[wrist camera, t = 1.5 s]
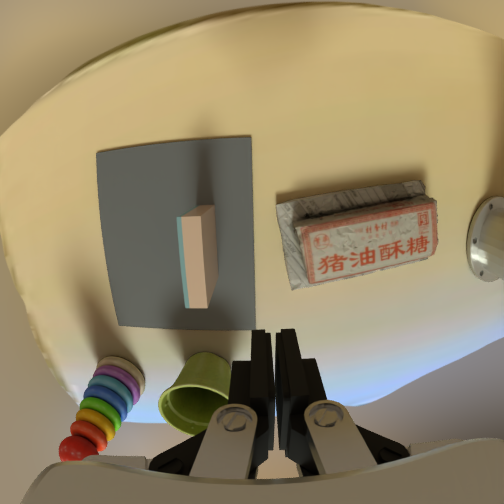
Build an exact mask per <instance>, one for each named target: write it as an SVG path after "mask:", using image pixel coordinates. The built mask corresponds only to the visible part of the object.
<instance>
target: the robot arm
mask: <svg viewBox="0 0 504 504" xmlns="http://www.w3.org/2000/svg"><path fill="white" fill-rule="evenodd" d="M467 258H468V262H469V266H470V268H471V271H472V272H473V273H474V275H475V276H476V277H478V278H479V279H481V280H483V281H485V282H492V281H495V280H497V279H499V278H501V279H502V280H504V197H499V196H494V197H491V198H489V199H487V200H486V201H484V202H483V203H482V204H481V206H480V207H479V208H478V210H477V212H476V213H475V215H474V217H473V220H472V222H471V225H470V229H469V233H468V239H467ZM275 397H276V411H277V424H278V437H279V450H285V457H288V458H289V459H291V460H292V461H294V462H296V463H297V464H296V466H297V470H298V474H299V477H296V478H281V479H257V474H258V466H259V465H260V464H262V463H263V462H264V461H265V460H267V459H268V450H273V445H274V424H275ZM20 504H504V440H501V439H496V438H479V439H472V440H466V441H463V440H460V439H449V440H442V441H434V442H425V443H415V444H410V445H409V447H404V446H403V445H401V444H400V443H398V442H395V441H393V440H390V439H388V438H385V437H383V436H380V435H378V434H376V433H374V432H371V431H369V430H366V429H364V428H362V427H360V426H358V425H356V424H355V423H354V421H353V420H352V418H351V416H350V415H349V412H348V411H347V409H346V408H345V407H344V406H343V405H342V404H340V403H338V402H335V401H332V400H327V397H326V394H325V390H324V387H323V383H322V380H321V376H320V373H319V369H318V366H317V362H316V360H315V358H310V359H302V358H301V354H300V350H299V345H298V341H297V336H296V332H295V329H281V333H276V351H275V383H274V371H273V358H272V346H271V334H270V333H265V330H252V338H251V361H233V362H232V370H231V379H230V388H229V396H228V405H224V406H222V407H220V408H218V409H217V410H216V411H215V412H214V414H213V415H212V417H211V420H210V423H209V425H208V428H207V429H205V430H204V431H202V432H200V433H198V434H197V435H195V436H193V437H191V438H189V439H187V440H186V441H184V442H182V443H180V444H178V445H176V446H174V447H172V448H170V449H169V450H167V451H165V452H163V453H161V454H159V455H157V456H156V457H154V458H153V459H146V457H145V456H137V457H136V456H107V455H90V456H87V457H85V458H84V459H83V460H82V461H63V462H58V463H55V464H52V465H50V466H48V467H46V468H45V469H44V470H43V471H42V472H41V473H40V474H39V475H38V476H37V478H36V479H35V480H34V482H33V483H32V485H31V486H30V488H29V489H28V491H27V492H26V494H25V496H24V498H23V500H22V502H21V503H20Z"/></svg>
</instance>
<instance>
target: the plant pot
mask: <svg viewBox="0 0 504 504" xmlns="http://www.w3.org/2000/svg"><path fill="white" fill-rule="evenodd" d="M230 379H231V369H230V366H229V364H228V363H227V362H226V360H225V359H223V358H221V357H218V356H216V355H215V354H213V353H208V352H202V353H197V354H195V355H193V356H191V357H190V358H189V359H188V361H187V362H186V364H185V366H184V367H183V369H182V371H181V373H180V374H179V376H178V378H177V379H176V381H175V383H174V384H173V385H172V386H171V387H170V388H168V389H167V390H165V391H164V392H163V393H162V395H161V397H160V399H159V402H158V407H159V411H160V414H161V416H162V417H163V418H164V420H165V421H166V422H167V423H168V424H169V425H171V426H172V427H173V428H175V429H176V430H178V431H180V432H182V433H185V434H187V435H191V436H195V435H197V434H198V433H200V432H202V431H204V430H205V429H207V428H208V425H209V423H210V420H211V417H212V415H213V414H214V412H215V411H216V410H217V409H218V408H220V407H222V406H224V405H228V396H229V388H230Z"/></svg>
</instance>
